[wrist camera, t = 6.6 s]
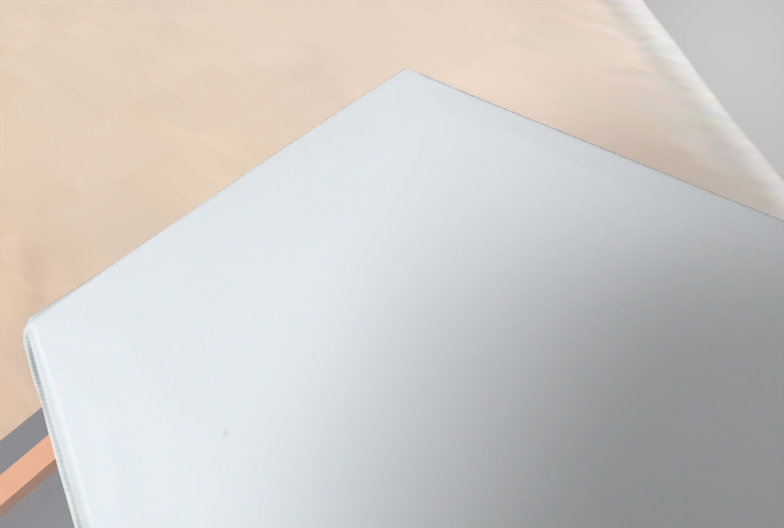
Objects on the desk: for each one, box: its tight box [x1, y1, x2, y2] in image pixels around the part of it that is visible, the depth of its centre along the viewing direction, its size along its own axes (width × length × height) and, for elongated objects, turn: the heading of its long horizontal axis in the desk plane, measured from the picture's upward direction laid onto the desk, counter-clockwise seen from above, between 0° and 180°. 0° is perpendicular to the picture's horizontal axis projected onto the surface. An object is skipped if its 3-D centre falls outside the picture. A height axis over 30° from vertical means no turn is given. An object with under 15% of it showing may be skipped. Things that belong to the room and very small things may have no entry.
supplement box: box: [23, 69, 784, 528], centre depth 9 cm, size 7×7×13 cm
